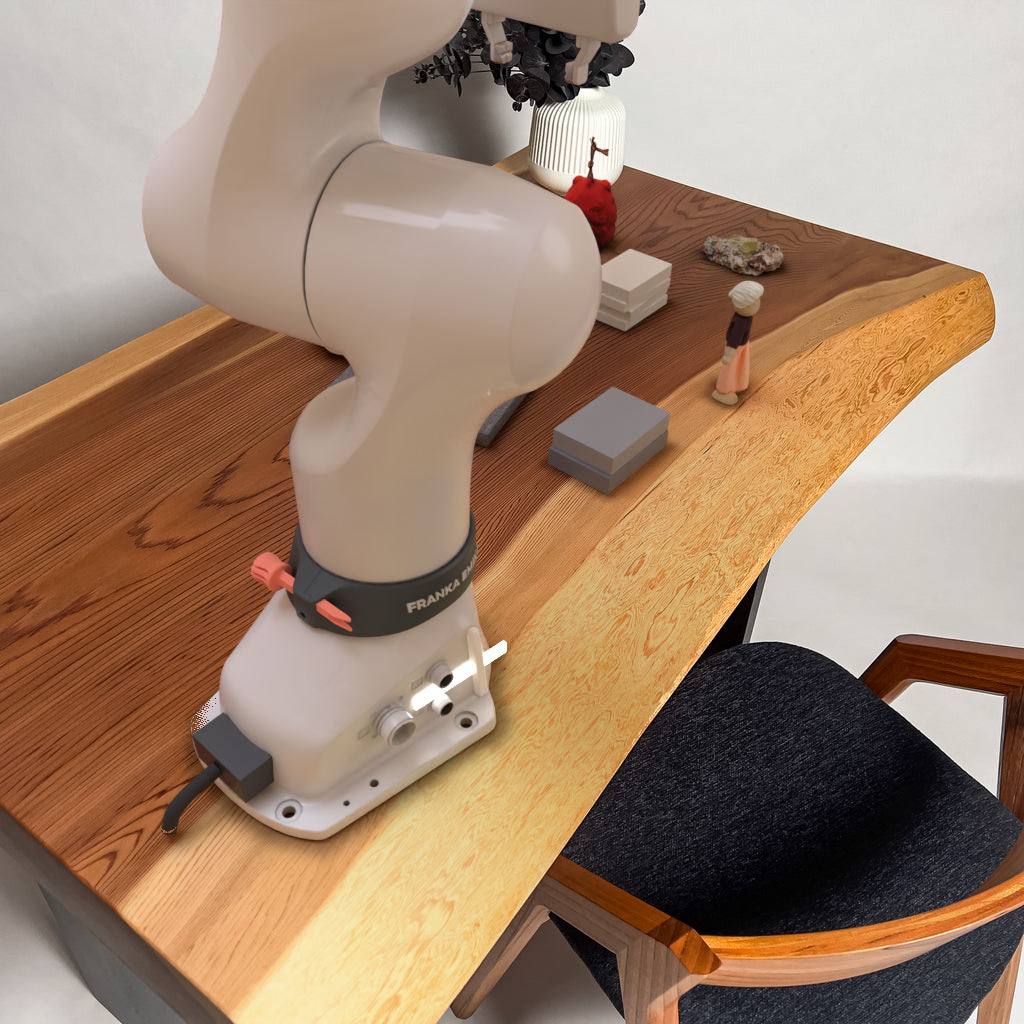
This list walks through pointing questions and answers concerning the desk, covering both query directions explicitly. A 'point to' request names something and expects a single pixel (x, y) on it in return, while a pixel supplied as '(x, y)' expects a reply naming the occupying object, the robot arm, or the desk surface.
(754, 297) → the grandmother figurine
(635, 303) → the white stack
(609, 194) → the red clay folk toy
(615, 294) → the white flat block
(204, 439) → the desk surface
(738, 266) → the mineral rock
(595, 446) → the grey stack
